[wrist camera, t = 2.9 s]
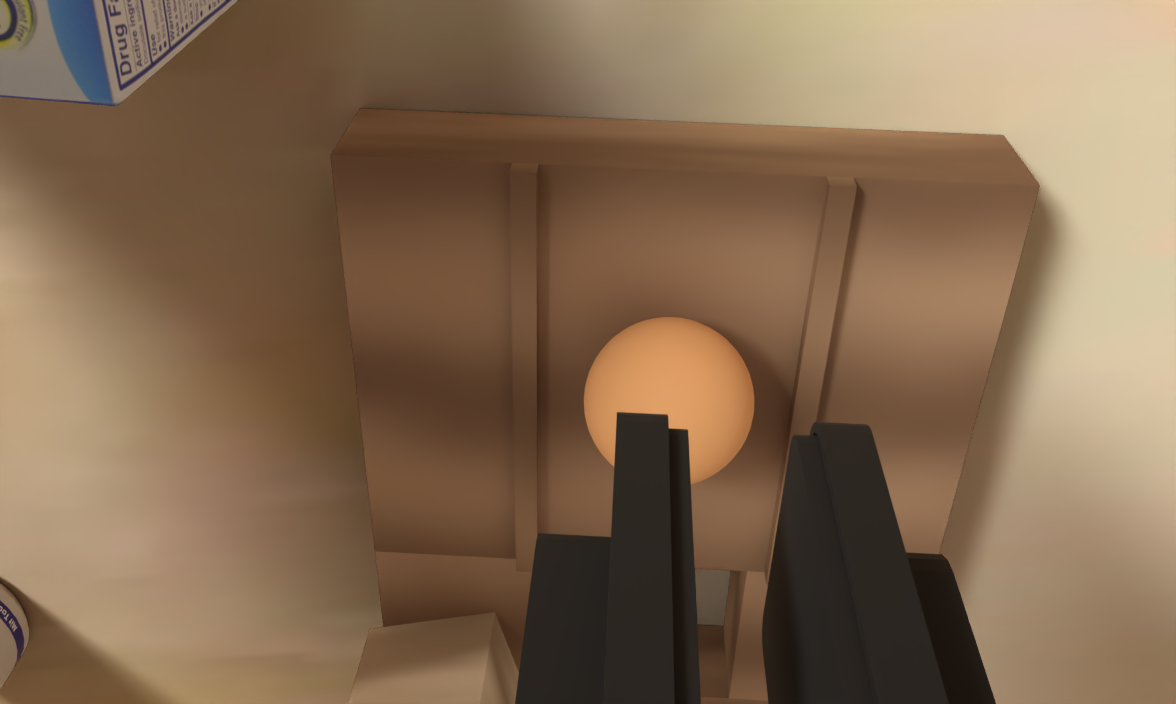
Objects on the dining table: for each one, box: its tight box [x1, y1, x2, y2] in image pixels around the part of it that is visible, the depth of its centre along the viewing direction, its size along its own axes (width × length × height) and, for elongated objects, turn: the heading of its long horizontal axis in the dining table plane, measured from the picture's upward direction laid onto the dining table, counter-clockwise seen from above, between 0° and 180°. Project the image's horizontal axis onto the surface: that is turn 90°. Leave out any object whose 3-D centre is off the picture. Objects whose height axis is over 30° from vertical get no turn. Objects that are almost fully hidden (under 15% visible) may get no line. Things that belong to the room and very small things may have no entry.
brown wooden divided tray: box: [331, 108, 1040, 704], centre depth 30 cm, size 20×16×4 cm
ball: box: [584, 317, 754, 484], centre depth 25 cm, size 4×4×4 cm
